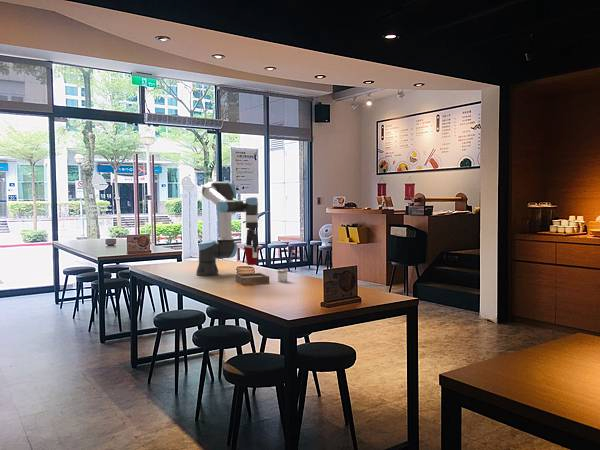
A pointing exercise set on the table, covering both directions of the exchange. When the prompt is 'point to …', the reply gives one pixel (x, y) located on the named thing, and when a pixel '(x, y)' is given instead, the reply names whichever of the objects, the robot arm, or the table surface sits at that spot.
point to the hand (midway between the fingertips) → (252, 256)
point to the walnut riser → (252, 278)
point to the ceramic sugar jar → (282, 275)
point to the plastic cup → (251, 254)
